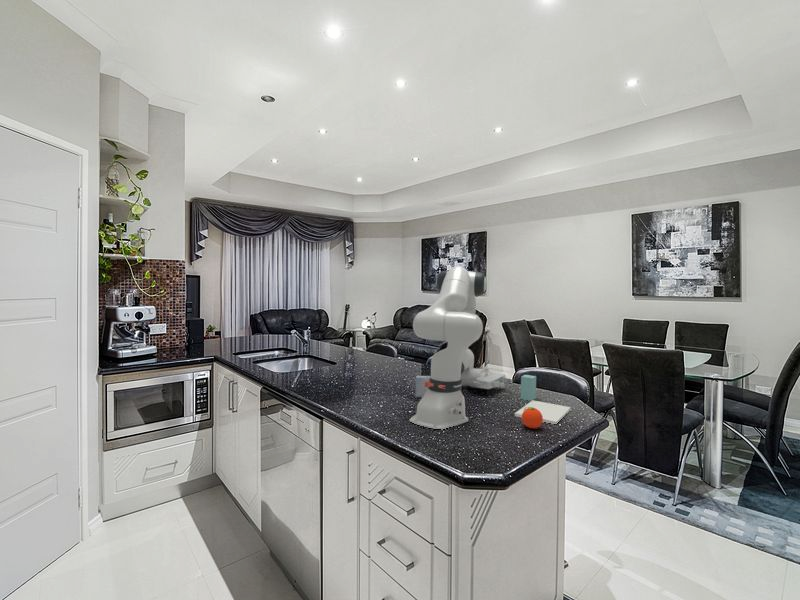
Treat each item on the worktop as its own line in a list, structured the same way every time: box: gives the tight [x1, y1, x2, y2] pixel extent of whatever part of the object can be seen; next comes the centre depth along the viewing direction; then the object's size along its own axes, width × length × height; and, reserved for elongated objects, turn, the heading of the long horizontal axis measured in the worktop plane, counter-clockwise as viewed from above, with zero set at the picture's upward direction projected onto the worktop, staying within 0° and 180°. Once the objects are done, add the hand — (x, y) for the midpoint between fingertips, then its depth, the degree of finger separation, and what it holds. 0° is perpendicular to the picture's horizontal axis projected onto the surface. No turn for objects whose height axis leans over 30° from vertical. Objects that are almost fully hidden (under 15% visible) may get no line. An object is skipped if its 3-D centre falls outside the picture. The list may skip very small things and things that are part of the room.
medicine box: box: [414, 375, 431, 398], centre depth 172 cm, size 8×4×9 cm, turn 84°
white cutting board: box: [514, 400, 571, 425], centre depth 152 cm, size 22×15×1 cm
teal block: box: [520, 374, 537, 402], centre depth 172 cm, size 5×5×10 cm
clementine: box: [521, 407, 544, 429], centre depth 136 cm, size 8×7×7 cm
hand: (508, 383), depth 177 cm, fingers open, 8 cm apart
